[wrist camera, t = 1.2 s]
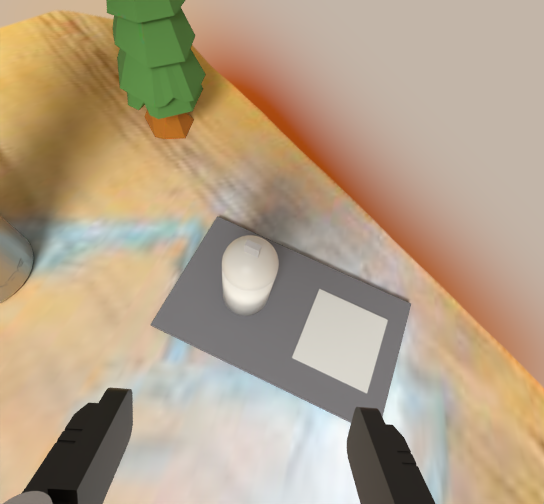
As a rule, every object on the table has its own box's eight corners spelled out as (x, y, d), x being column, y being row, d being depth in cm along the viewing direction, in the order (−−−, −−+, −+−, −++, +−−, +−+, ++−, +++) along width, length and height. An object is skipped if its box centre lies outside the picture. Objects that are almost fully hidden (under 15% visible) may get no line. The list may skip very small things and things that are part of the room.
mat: (151, 326, 34) (150, 324, 33) (217, 219, 40) (217, 215, 39) (375, 434, 32) (378, 434, 32) (408, 305, 38) (411, 303, 38)
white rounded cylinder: (214, 303, 35) (209, 258, 25) (235, 265, 37) (238, 208, 27) (256, 323, 35) (269, 285, 24) (275, 283, 37) (294, 233, 27)
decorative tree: (173, 89, 48) (106, -321, 21) (223, 125, 46) (219, -272, 20) (118, 125, 44) (-49, -321, 17) (170, 166, 43) (75, -260, 16)
